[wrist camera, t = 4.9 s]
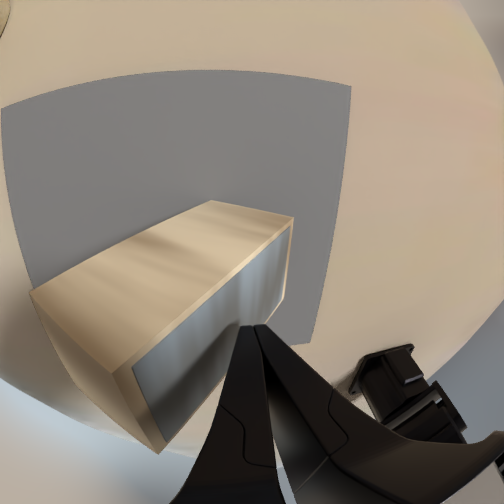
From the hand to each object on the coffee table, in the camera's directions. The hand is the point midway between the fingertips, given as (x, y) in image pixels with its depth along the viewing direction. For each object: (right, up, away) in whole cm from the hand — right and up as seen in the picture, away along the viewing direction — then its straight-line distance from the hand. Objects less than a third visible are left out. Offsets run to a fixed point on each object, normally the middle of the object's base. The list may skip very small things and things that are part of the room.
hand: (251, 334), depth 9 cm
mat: (-5, +3, +6) cm, 9 cm away
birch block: (0, +3, +6) cm, 6 cm away
